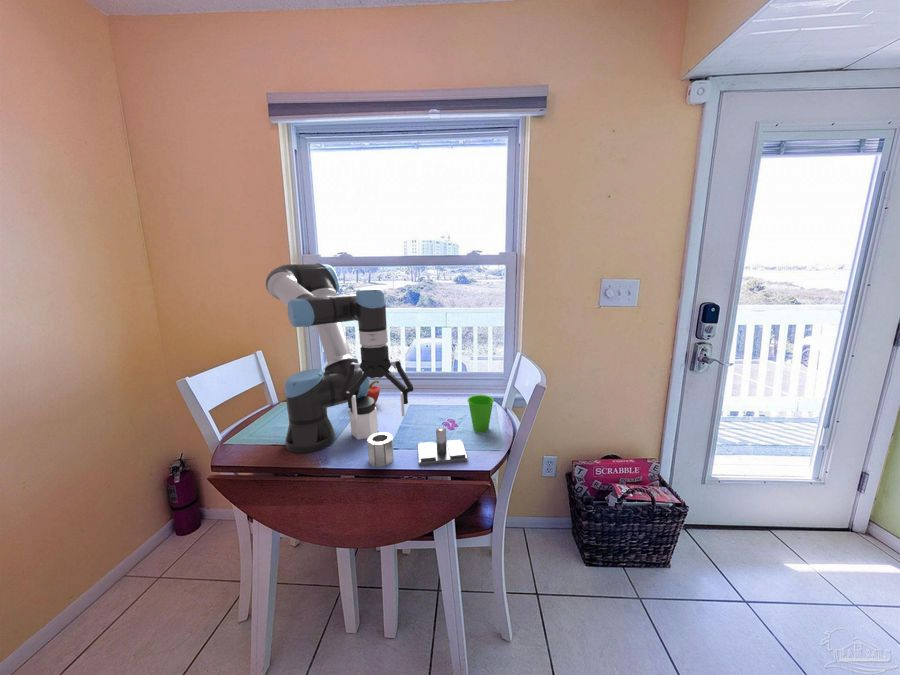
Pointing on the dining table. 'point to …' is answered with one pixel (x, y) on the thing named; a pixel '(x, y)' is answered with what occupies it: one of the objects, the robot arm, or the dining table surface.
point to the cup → (480, 411)
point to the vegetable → (373, 391)
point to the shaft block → (441, 450)
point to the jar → (364, 418)
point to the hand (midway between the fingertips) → (379, 416)
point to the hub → (380, 449)
